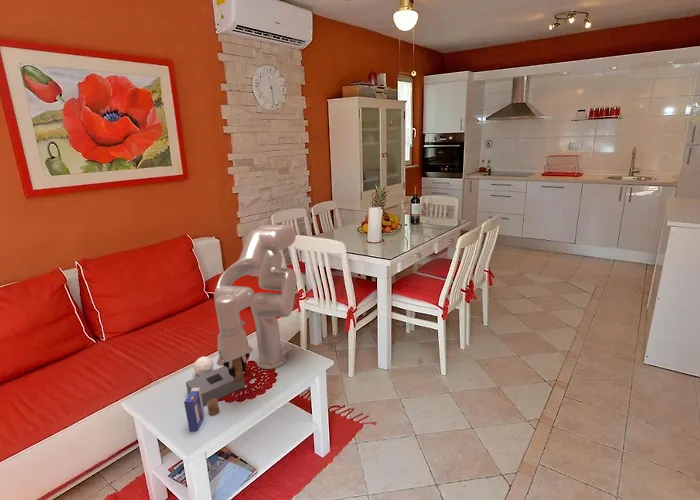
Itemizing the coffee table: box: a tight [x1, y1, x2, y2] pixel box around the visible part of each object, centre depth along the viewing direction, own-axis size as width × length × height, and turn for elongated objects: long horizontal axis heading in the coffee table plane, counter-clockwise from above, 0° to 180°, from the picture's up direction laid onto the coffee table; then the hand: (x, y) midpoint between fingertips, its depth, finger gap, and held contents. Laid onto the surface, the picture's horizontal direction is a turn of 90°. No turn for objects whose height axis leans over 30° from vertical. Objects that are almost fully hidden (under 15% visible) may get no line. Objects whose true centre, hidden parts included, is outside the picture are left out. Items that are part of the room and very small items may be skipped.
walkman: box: [183, 388, 206, 432], centre depth 143 cm, size 8×3×12 cm, turn 179°
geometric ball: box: [193, 356, 215, 377], centre depth 172 cm, size 8×8×8 cm
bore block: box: [185, 366, 245, 407], centre depth 162 cm, size 18×12×5 cm, turn 130°
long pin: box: [232, 357, 245, 382], centre depth 152 cm, size 4×4×10 cm
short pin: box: [206, 398, 220, 416], centre depth 149 cm, size 4×4×4 cm
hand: (238, 372), depth 153 cm, fingers closed on long pin, 3 cm apart
